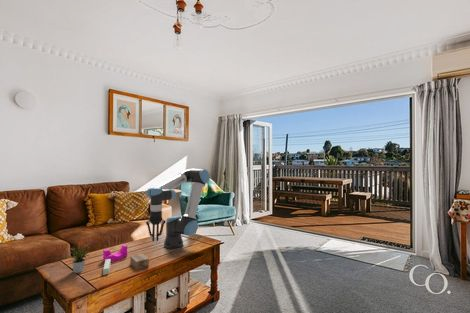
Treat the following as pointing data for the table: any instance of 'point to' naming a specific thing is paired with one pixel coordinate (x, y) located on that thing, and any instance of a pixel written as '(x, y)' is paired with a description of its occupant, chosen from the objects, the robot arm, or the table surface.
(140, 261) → the walnut block
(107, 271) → the board
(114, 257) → the magenta arch bracket
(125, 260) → the table surface
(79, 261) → the house plant
